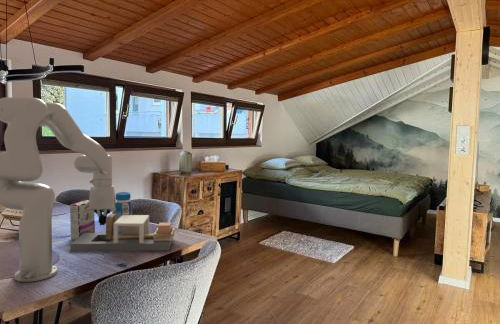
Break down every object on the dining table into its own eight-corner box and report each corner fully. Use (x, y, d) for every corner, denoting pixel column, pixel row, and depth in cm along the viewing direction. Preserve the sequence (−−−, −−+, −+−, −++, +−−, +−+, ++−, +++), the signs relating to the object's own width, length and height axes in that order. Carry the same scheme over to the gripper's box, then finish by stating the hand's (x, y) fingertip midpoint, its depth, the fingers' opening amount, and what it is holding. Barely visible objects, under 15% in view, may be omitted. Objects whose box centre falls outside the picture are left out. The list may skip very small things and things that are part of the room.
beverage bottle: (110, 235, 165) (110, 194, 164) (118, 230, 174) (118, 191, 172) (128, 236, 165) (128, 195, 163) (134, 231, 173) (134, 192, 172)
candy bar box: (86, 233, 168) (85, 199, 167) (95, 233, 167) (95, 200, 166) (69, 239, 157) (69, 204, 156) (79, 240, 156) (79, 204, 155)
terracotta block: (169, 236, 153) (169, 225, 152) (157, 236, 152) (158, 225, 152) (170, 233, 158) (170, 222, 157) (159, 233, 157) (159, 222, 157)
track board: (169, 250, 148) (169, 223, 147) (70, 251, 143) (70, 223, 142) (173, 238, 163) (173, 214, 162) (84, 239, 159) (84, 214, 158)
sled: (172, 240, 150) (172, 219, 150) (105, 240, 147) (105, 218, 146) (174, 233, 160) (174, 213, 160) (111, 234, 157) (111, 213, 156)
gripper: (81, 183, 145) (81, 226, 147) (118, 184, 147) (118, 226, 148) (87, 181, 153) (87, 222, 154) (122, 181, 154) (122, 222, 156)
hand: (102, 224), depth 151 cm, fingers closed
